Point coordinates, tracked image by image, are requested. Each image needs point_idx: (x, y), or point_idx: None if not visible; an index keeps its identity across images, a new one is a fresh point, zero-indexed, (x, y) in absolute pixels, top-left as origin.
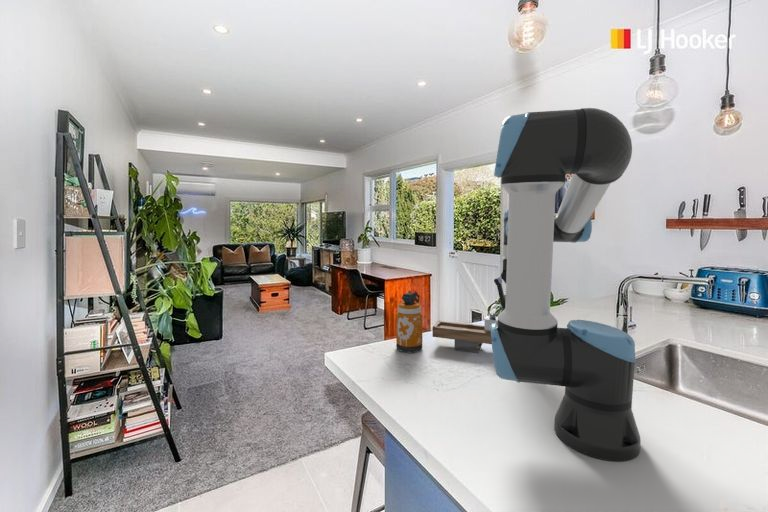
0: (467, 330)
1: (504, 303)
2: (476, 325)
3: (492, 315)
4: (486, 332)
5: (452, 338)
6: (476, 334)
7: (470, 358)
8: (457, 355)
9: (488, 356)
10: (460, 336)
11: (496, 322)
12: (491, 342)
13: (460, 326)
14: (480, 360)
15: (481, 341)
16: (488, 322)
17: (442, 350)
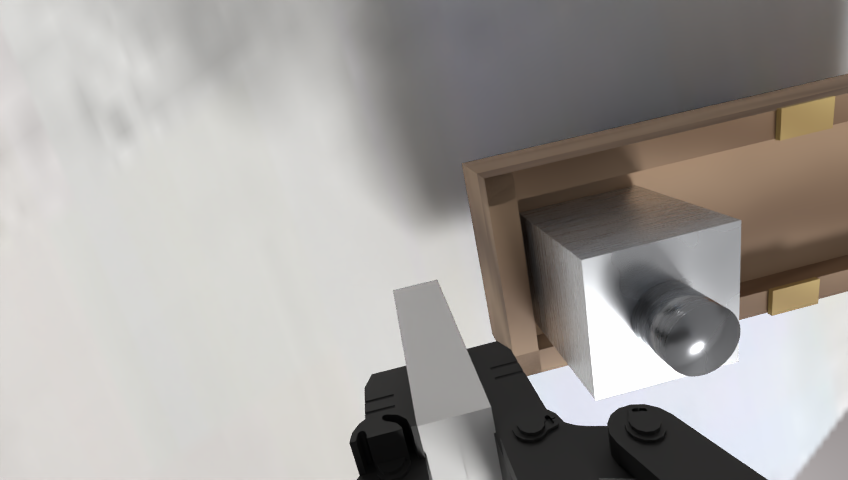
0: (794, 104)
1: (663, 475)
2: (739, 307)
3: (691, 302)
4: (626, 168)
5: (831, 78)
6: (693, 124)
7: (614, 13)
8: (702, 16)
9: (521, 122)
10: (794, 91)
11: (595, 244)
12: (543, 148)
13: (845, 257)
14: (547, 17)
15: (617, 128)
16: (674, 222)
17: (807, 47)
